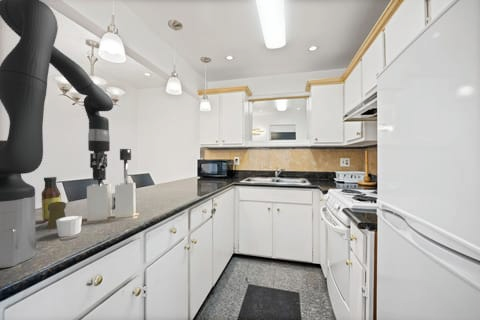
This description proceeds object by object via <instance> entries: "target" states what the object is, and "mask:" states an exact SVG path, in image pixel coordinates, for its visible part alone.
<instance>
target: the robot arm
mask: <svg viewBox="0 0 480 320" xmlns="http://www.w3.org/2000/svg"><path fill="white" fill-rule="evenodd" d="M0 17H1V19H2V20H3V22H4V23H5V24H6V25H7V26H8V27H9V28H10V29H11V30H12V31H13V32H14V33H15V34H16V35H17V36H18V37H19V41H18V42H17V43H16V45H15V46H14V47H13V48H12V50H11V51H9V53H8V54H7V55H6V57H5V58H4V59H3V60H2V61H1V64H0V102H1V104H2V107H4V109H5V111H6V113H7V115H8V119H9V127H8V128H9V129H8V135H7V138H6V140H0V269H3V268H4V269H5V268H11V267H15V266H17V265H18V264H21V263H22V262H26V261H28V260H30V259H33V257H35V256H36V255H37V240H36V239H37V238H36V237H37V235H36V234H37V233H36V231H37V229H36V228H37V227H36V225H37V224H36V189H35V187H34V186H33V185H31V184H29V183H27V182H26V181H25V180H24V179H23V178H22V175H23V174H24V175H25V174H30V173H33V172H35V171H36V170H38V168H39V167H40V166H41V164H42V161H43V159H44V158H43V156H44V139H43V138H44V137H43V136H44V135H43V124H44V123H43V122H44V114H45V113H44V109H45V102H46V97H47V91H48V89H47V88H48V79H49V78H48V77H49V76H48V75H49V69H50V65H51V66H53V68H54V69H56V71H58V72H59V73H60V74H61V75H62V76H63V77H64V79H65V80H66V81H67V82H68V83H69V84H70V85H71V86H72V88H73V89H74V90H75V91H76V92H77V93H78V94H79V95H83V96H85V97H84V98H83V107H84V110H85V113H86V116H87V118H88V135H87V138H88V139H87V142H88V143H87V146H88V152H93V153H90V154H89V155H90V156H89V160H90V161H89V167H90V169H92V179H93V178H99V177H100V168H106V169H107V167H108V154H107V153H105V152H110V150H111V149H110V146H111V145H110V143H111V141H110V127H109V125H110V122H109V119H108V118H107V117H105V116H102V115H100V112H110V111H112V110H113V108H114V101H113V100H112V98H111V97H110V95H109V94H108V93H107V92H106V91H104V90H103V89H102V88H101V87H99V85H97V84H95V82H94V81H93V80H92V78H91V77H90V76H89V74H88V73H87V72H86V71H85V69H84V68H83V67H82V66H80V64H78V63H77V62H76V61H74V60H73V59H72V58H70V57H69V56H67V55H66V54H64V53H63V52H61V51H60V49H58V48H57V47H55V42H56V39H57V35H58V29H59V27H58V25H59V24H58V21H57V18H56V15H55V13H54V12H53V10H52V9H51V7H49V5H47V3H45V2H44V1H42V0H0Z"/></svg>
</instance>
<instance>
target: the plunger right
mask: <svg viewBox="0 0 480 320" xmlns="http://www.w3.org/2000/svg"><path fill="white" fill-rule="evenodd" d="M119 161H123V183H124V185H127V184H128V183H129V182H128V181H129V180H128V161H132V149H130V148H120V149H119Z"/></svg>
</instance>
